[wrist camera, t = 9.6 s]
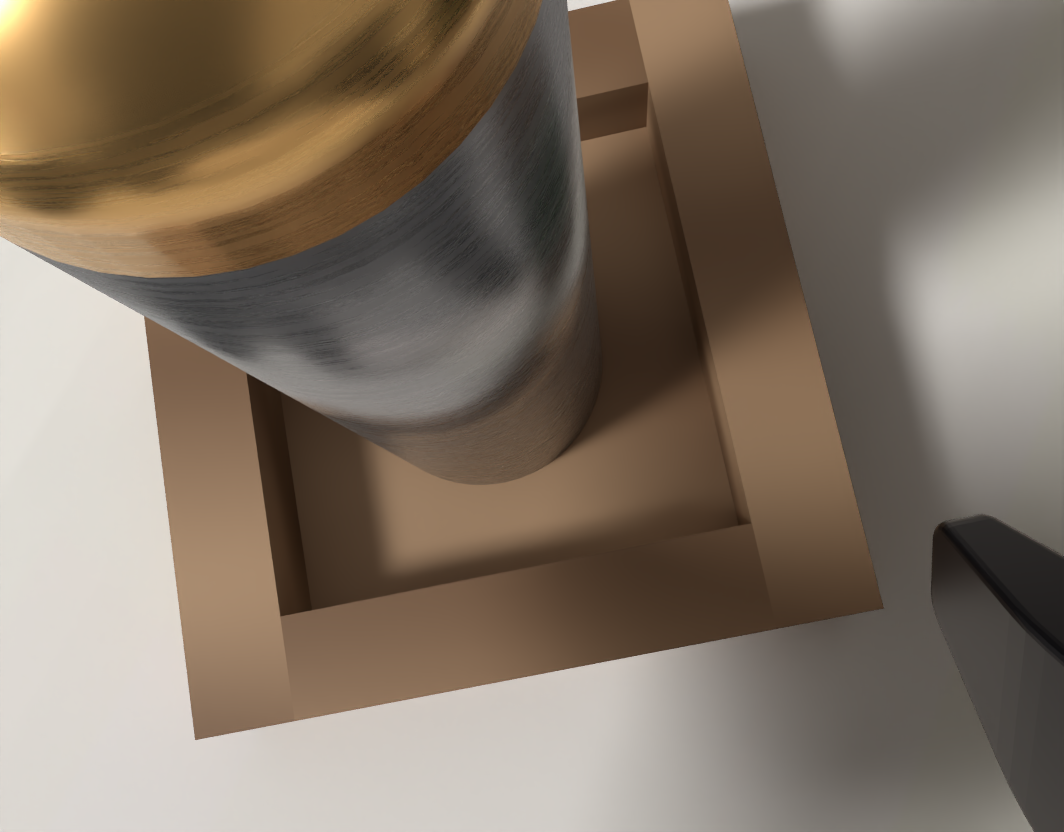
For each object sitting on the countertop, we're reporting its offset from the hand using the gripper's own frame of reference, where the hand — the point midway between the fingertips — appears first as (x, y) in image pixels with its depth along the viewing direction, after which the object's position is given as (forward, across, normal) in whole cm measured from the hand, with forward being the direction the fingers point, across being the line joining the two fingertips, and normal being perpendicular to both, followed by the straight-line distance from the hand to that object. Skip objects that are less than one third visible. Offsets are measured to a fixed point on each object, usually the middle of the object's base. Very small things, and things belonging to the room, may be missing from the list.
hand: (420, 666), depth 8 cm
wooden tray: (+9, 0, +2) cm, 9 cm away
